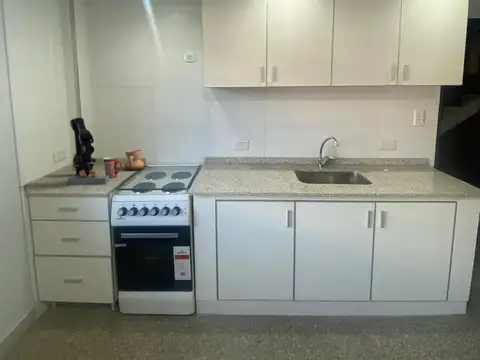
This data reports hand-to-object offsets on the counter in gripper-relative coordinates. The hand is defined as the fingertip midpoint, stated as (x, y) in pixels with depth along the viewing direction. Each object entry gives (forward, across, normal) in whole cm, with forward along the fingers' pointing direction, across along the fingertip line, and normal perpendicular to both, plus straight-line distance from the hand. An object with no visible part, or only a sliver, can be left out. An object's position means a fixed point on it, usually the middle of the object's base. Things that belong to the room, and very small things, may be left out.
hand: (88, 175), depth 291 cm
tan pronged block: (+4, 0, 0) cm, 4 cm away
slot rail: (+5, 0, 0) cm, 5 cm away
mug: (+5, -17, +12) cm, 21 cm away
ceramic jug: (+5, -44, +21) cm, 49 cm away
